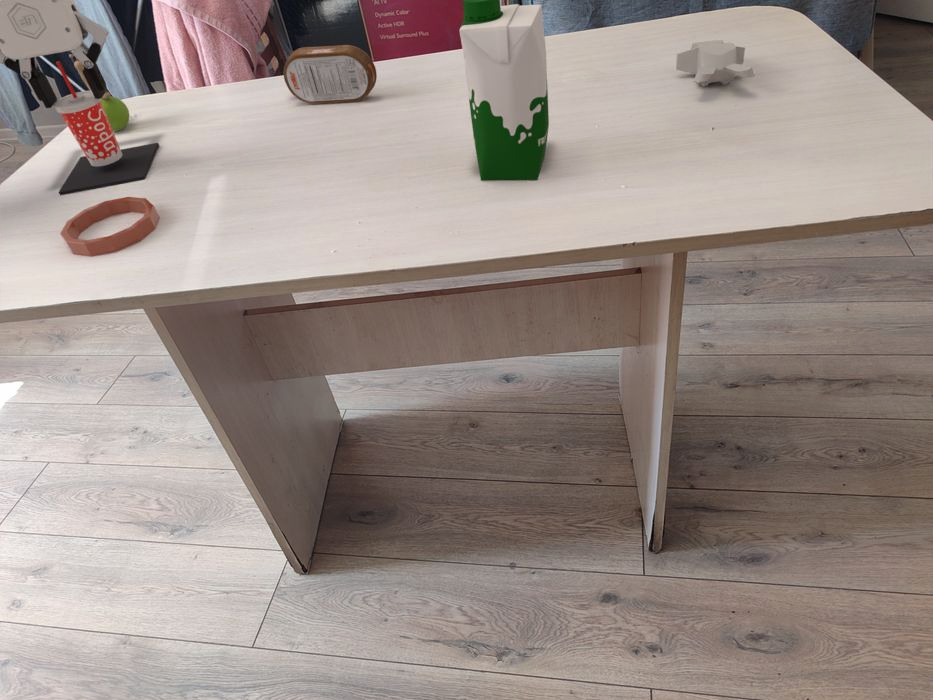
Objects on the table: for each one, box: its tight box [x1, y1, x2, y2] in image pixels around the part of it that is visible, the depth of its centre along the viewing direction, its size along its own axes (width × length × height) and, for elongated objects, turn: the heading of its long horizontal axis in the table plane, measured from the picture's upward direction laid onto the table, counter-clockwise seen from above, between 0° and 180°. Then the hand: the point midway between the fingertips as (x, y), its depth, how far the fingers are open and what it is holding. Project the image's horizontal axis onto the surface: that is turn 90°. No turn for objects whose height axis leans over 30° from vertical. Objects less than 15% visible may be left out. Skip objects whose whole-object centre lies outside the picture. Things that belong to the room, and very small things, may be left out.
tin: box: [282, 44, 378, 105], centre depth 108 cm, size 15×3×8 cm, turn 80°
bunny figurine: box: [675, 39, 755, 87], centre depth 97 cm, size 10×5×15 cm
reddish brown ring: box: [59, 196, 160, 258], centre depth 83 cm, size 11×11×3 cm
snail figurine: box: [68, 53, 130, 132], centre depth 109 cm, size 5×6×12 cm
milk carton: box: [458, 0, 550, 182], centre depth 79 cm, size 9×9×20 cm
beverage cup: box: [52, 60, 123, 166], centre depth 95 cm, size 6×6×14 cm
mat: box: [58, 142, 160, 196], centre depth 100 cm, size 12×12×1 cm
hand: (76, 98), depth 94 cm, fingers closed on beverage cup, 6 cm apart
